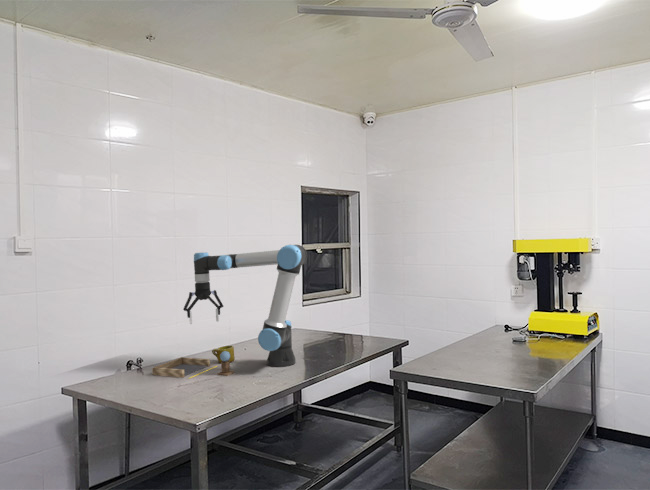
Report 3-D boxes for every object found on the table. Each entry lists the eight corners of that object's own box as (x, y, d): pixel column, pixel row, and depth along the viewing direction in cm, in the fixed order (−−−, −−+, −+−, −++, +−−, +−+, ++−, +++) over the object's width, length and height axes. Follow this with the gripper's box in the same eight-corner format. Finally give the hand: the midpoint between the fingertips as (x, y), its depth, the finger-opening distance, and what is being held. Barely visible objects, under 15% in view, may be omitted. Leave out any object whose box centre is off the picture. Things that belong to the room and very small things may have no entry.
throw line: (217, 366, 261) (217, 365, 261) (190, 378, 239) (190, 378, 239) (216, 366, 261) (216, 365, 261) (188, 378, 239) (188, 378, 239)
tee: (234, 372, 247) (233, 359, 247) (227, 375, 242) (227, 362, 241) (223, 371, 249) (223, 359, 249) (217, 375, 244) (216, 361, 244)
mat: (207, 366, 261) (207, 365, 261) (183, 376, 243) (183, 375, 243) (182, 364, 267) (182, 363, 267) (157, 374, 248) (156, 373, 248)
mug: (241, 356, 273) (234, 340, 271) (231, 366, 264) (224, 350, 262) (224, 358, 279) (217, 343, 277) (214, 368, 270) (206, 352, 268)
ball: (232, 360, 247) (232, 350, 247) (226, 362, 242) (226, 352, 242) (223, 359, 249) (223, 349, 249) (218, 362, 244) (217, 352, 244)
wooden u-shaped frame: (209, 365, 262) (209, 359, 262) (182, 377, 241) (182, 370, 241) (181, 363, 269) (181, 357, 269) (152, 374, 248) (152, 367, 248)
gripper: (224, 279, 266) (226, 319, 266) (176, 283, 256) (178, 324, 257) (227, 280, 259) (229, 320, 259) (178, 284, 249) (180, 326, 250)
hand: (204, 322), depth 258 cm, fingers open, 13 cm apart
